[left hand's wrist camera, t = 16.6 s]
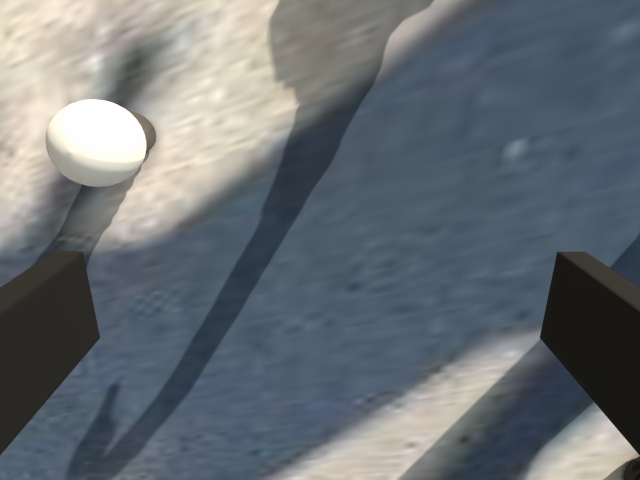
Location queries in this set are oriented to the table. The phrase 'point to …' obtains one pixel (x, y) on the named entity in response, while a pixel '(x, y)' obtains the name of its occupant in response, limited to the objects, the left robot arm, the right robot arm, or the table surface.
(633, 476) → the headphones
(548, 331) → the left robot arm
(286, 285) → the table surface
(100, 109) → the light bulb
